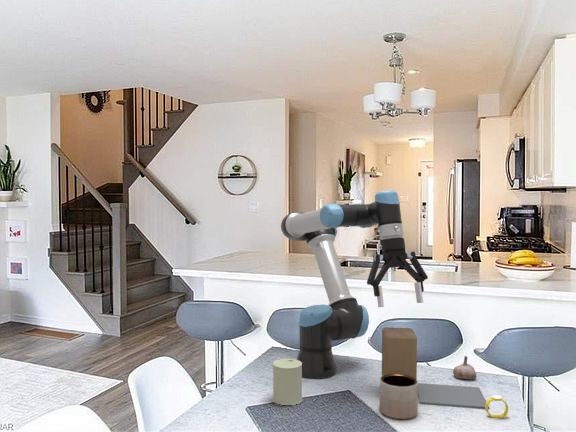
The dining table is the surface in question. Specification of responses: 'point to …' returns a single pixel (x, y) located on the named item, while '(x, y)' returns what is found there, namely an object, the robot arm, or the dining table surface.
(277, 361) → the can
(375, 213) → the robot arm
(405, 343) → the wooden block
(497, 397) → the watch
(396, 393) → the planter
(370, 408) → the dining table surface
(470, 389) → the mat
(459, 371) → the garlic bulb
